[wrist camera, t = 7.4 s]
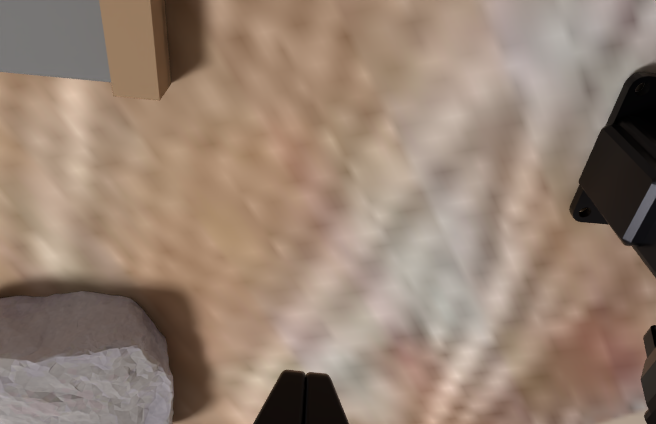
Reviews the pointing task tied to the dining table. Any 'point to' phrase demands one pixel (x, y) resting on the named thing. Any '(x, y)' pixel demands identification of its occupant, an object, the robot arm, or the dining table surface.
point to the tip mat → (89, 42)
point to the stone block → (82, 362)
